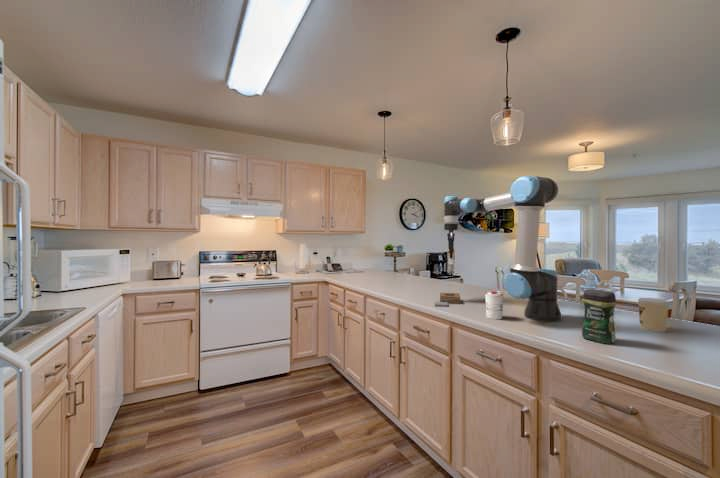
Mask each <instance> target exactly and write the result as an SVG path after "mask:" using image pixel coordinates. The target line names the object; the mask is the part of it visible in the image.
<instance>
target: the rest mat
mask: <svg viewBox="0 0 720 478" xmlns="http://www.w3.org/2000/svg"><path fill="white" fill-rule="evenodd" d="M434 307H443V308H445V307H446V308H448V307H449V304H448V302H440V301H434Z"/></svg>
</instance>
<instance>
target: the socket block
mask: <svg viewBox="0 0 720 478" xmlns="http://www.w3.org/2000/svg"><path fill="white" fill-rule="evenodd" d="M439 296H440V297H439V302H448V305H449V304H450V305H461V295H460V292H459V293H458V292H457V293H456V292H455V293H454V292H440V293H439Z"/></svg>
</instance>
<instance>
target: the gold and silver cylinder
mask: <svg viewBox="0 0 720 478" xmlns="http://www.w3.org/2000/svg"><path fill="white" fill-rule="evenodd" d="M446 250H447V251H446V254H447V256H446V257H447V262H448V261H449V253H448V252H449V249H448V248H447V249H446ZM453 253H454V255H453V264H448V263H447V274H448V275H449V274H451V275H452V274H453V275H454V274H455V271H454V270H455V251H454V252H453Z"/></svg>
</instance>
